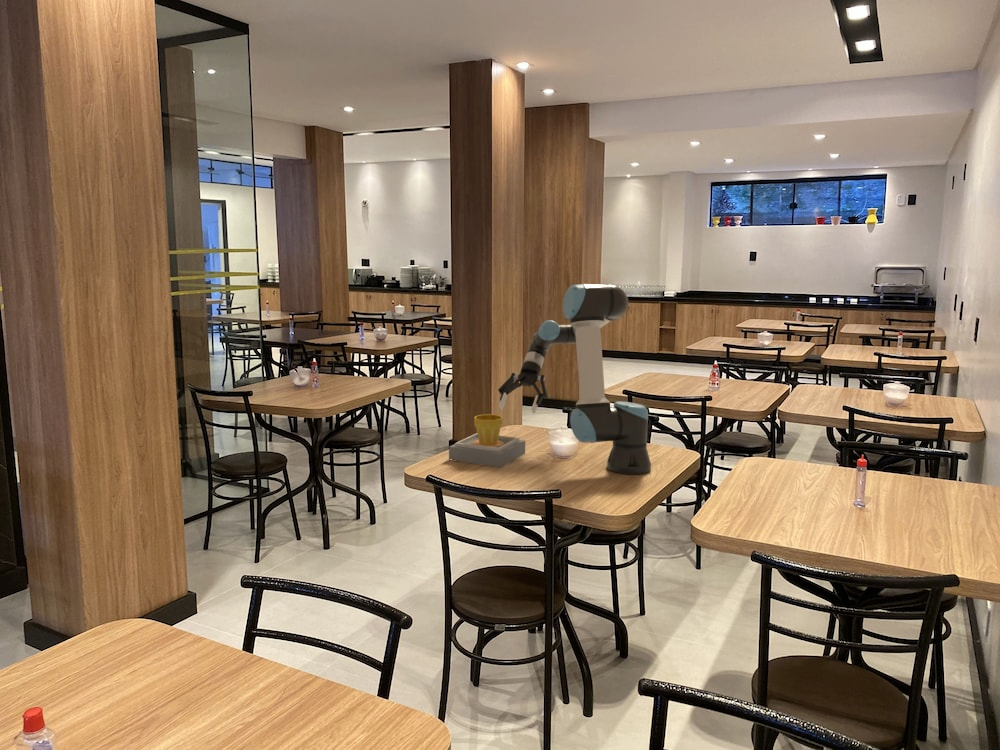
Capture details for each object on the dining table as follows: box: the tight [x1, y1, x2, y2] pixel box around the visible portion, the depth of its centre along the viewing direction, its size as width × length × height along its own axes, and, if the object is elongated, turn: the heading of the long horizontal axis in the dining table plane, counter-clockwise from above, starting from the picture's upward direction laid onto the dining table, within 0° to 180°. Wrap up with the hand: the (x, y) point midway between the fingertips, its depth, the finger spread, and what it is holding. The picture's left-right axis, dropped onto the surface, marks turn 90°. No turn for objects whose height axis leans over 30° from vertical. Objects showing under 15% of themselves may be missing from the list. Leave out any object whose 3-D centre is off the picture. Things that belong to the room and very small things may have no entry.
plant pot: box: [473, 413, 503, 445], centre depth 267 cm, size 10×10×10 cm
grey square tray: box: [448, 432, 526, 468], centre depth 268 cm, size 21×21×6 cm
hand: (516, 409), depth 279 cm, fingers open, 13 cm apart
